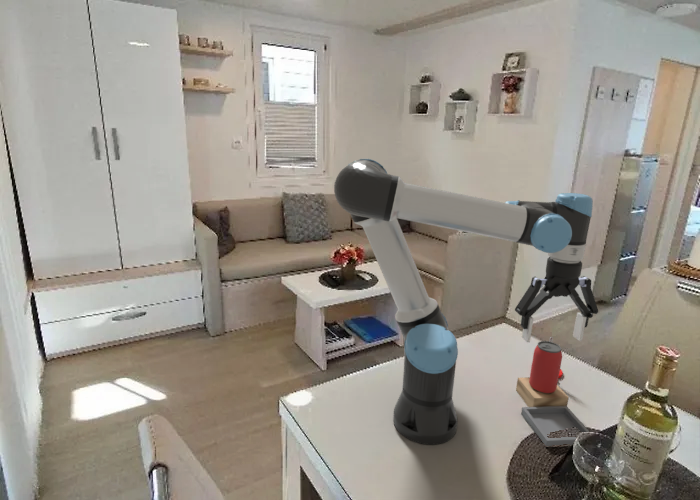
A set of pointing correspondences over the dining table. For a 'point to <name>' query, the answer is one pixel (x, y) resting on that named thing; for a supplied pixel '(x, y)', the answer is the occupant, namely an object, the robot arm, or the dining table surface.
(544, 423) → the charcoal tray
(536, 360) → the beer can
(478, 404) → the dining table surface
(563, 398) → the block
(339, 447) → the dining table surface
